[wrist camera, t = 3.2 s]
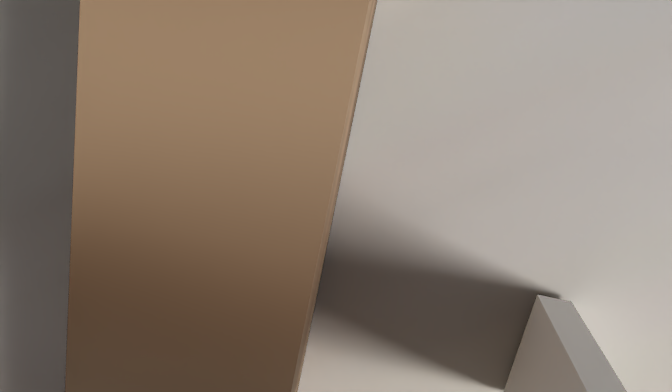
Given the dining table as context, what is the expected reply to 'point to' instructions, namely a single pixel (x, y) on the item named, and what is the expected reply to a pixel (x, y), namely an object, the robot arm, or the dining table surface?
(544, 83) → the dining table surface
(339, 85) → the link
